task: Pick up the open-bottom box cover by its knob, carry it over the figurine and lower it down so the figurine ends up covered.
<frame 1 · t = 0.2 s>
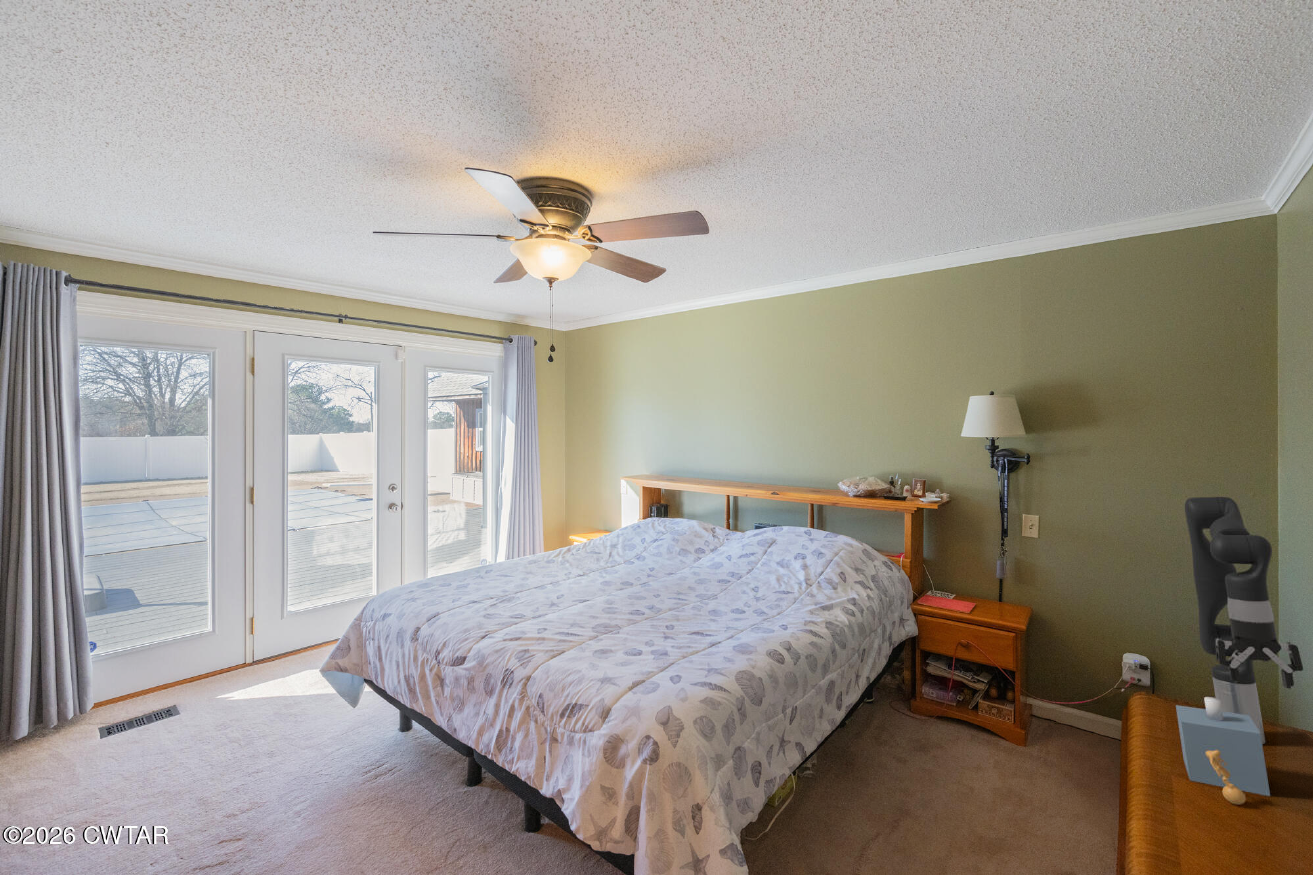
hand: (1261, 685, 134), 29 cm above the dresser, fingers open, 8 cm apart
figurine: (1229, 802, 137), on the dresser
cover: (1224, 776, 148), on the dresser
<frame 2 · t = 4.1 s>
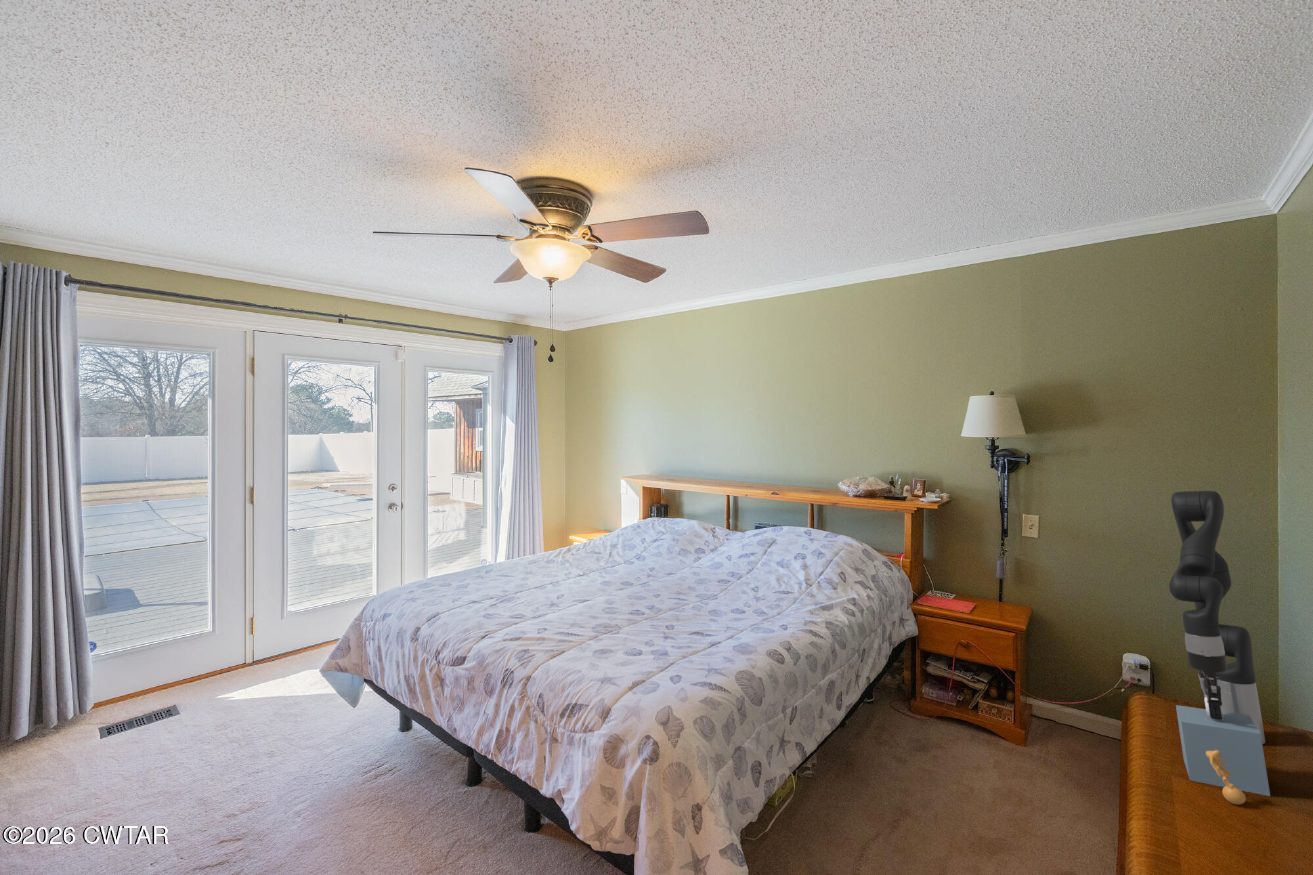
hand: (1215, 715, 149), 16 cm above the dresser, fingers closed on cover, 3 cm apart
cover: (1224, 776, 147), on the dresser, touching gripper
everything else where it was.
when the fingers open (18 cm above the dresser, at t = 10.9 s): cover drops 2 cm, on the dresser.
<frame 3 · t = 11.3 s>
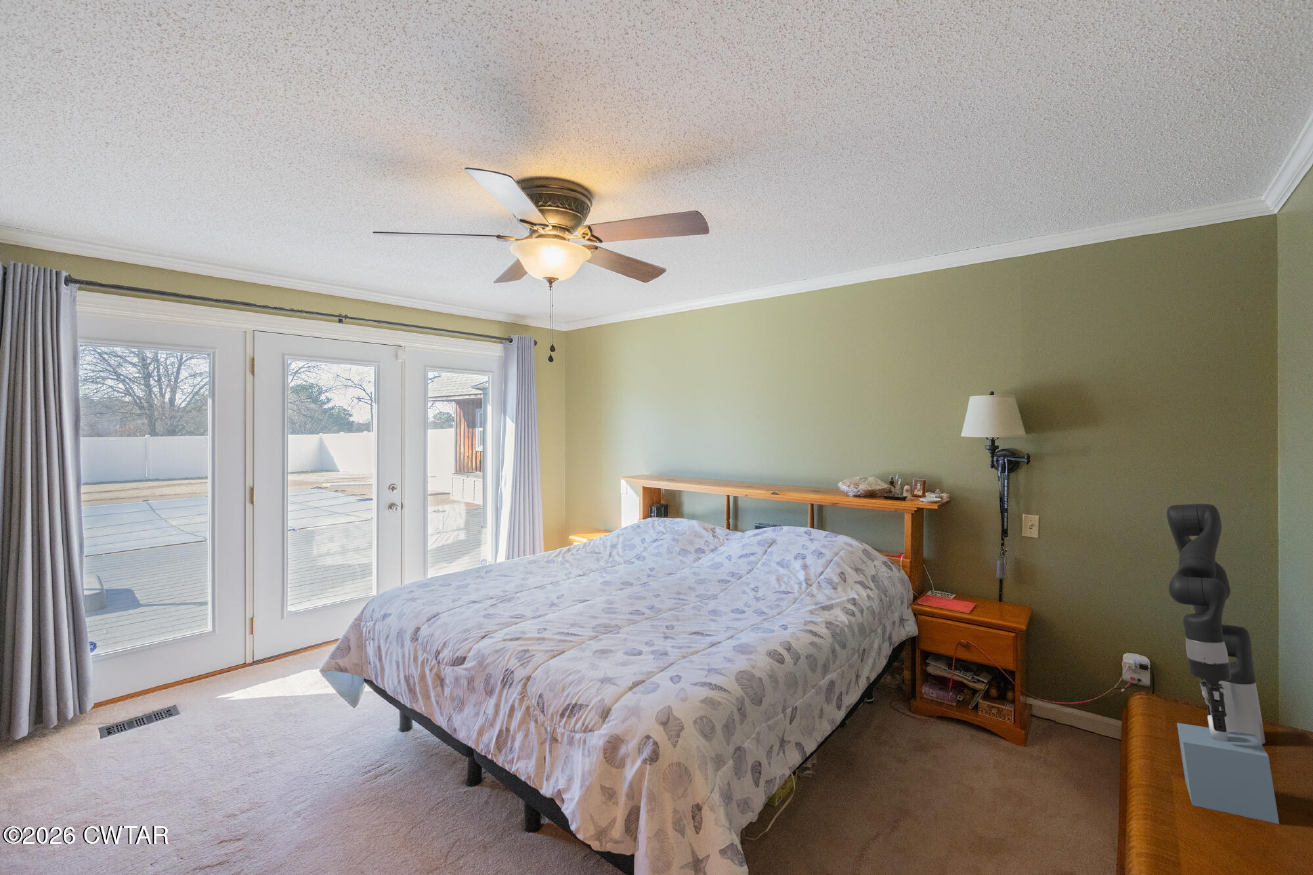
hand: (1217, 725, 139), 18 cm above the dresser, fingers open, 6 cm apart
cover: (1229, 801, 137), on the dresser
everything else where it was.
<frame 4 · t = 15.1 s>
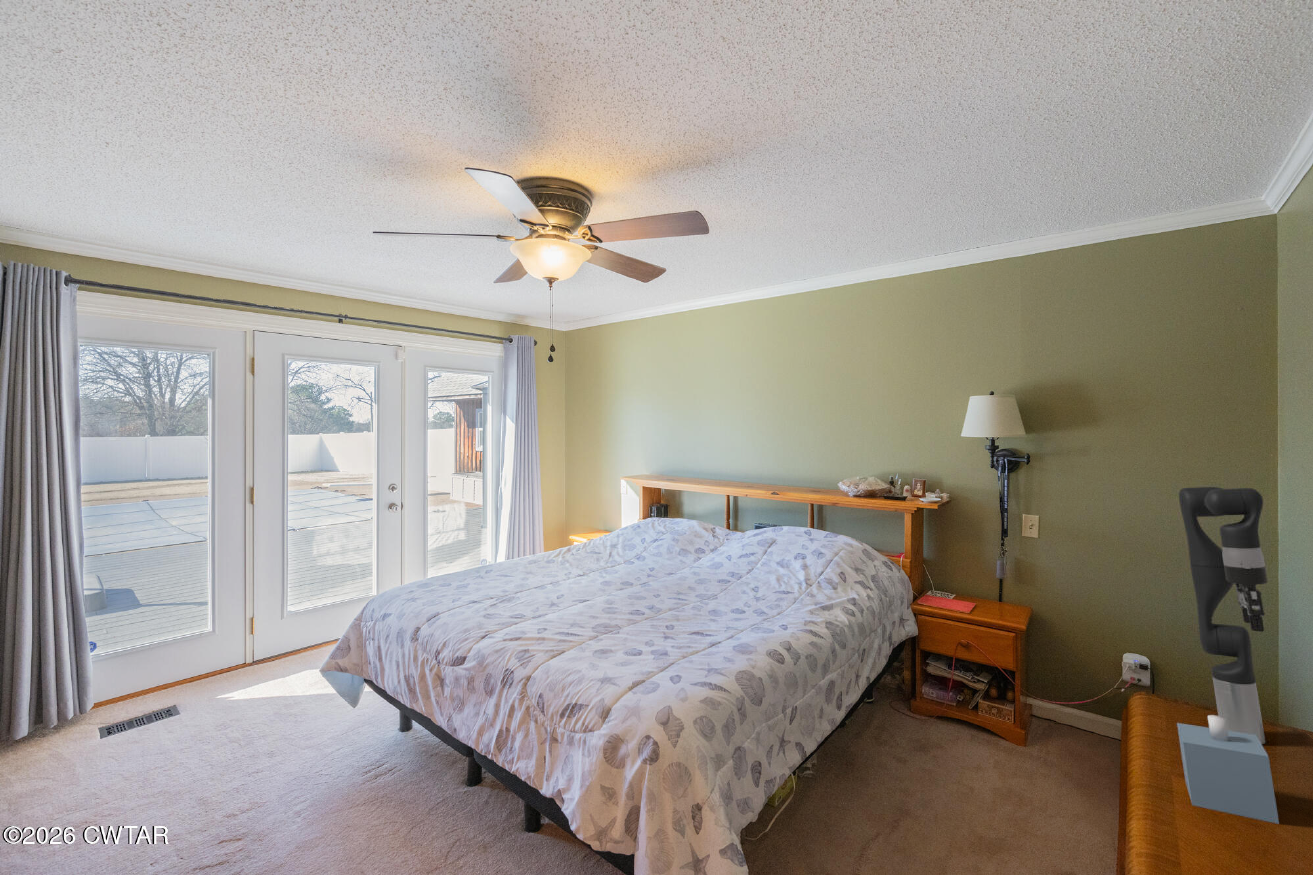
hand: (1253, 626, 145), 40 cm above the dresser, fingers open, 8 cm apart
nothing on the dresser moved.
at the end: cover 0.1 cm from the figurine (horizontally); cover on the dresser; figurine tilted 0° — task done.
